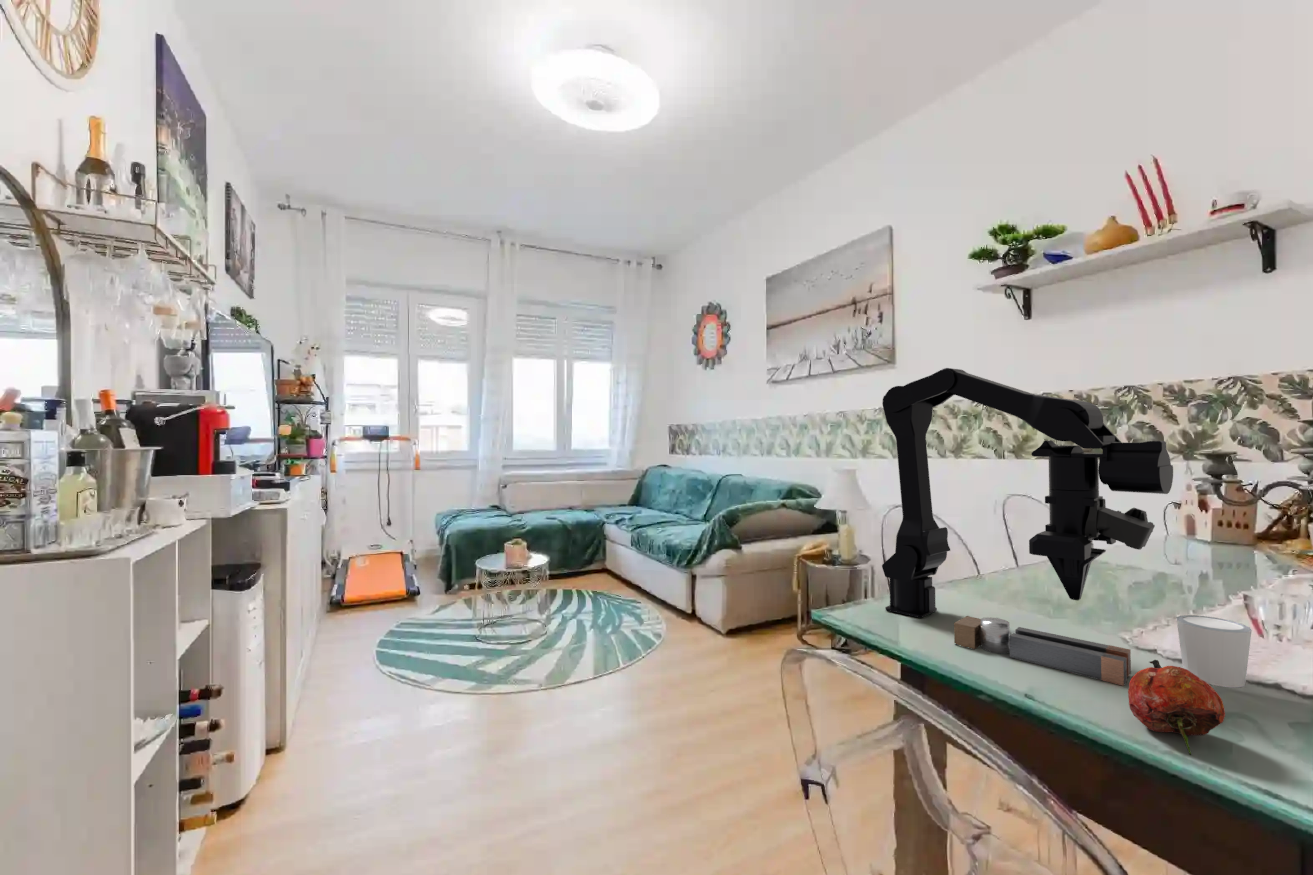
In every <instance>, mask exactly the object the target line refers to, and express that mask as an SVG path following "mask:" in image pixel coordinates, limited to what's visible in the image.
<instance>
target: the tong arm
mask: <svg viewBox="0 0 1313 875" xmlns="http://www.w3.org/2000/svg"><path fill="white" fill-rule="evenodd" d="M1014 632H1015V634H1020V635H1024V636H1029V637H1034V638H1038V639H1043V640H1047V641H1052V642H1056V643H1061V644H1066V645H1070V646H1075V647H1079V648H1084V649H1088V650H1093V651H1097V652H1102V653H1108V654H1112V655H1117V656H1121V657H1126V658H1127V678H1129V677H1130V675H1131V674H1132V661H1131V658H1132V657H1131V654H1132V653H1131V649H1130V648H1124V647H1119V646H1115V645H1111V644H1105V643H1099V642H1094V641H1089V640H1085V639H1080V638H1076V637H1070V636H1066V635H1060V634H1056V633H1055V634H1054V633H1050V632H1046V631H1040V630H1035V629H1031V628H1025V627H1021V626H1018V627H1017V628H1016V629H1015V631H1014Z"/></svg>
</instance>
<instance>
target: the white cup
mask: <svg viewBox="0 0 1313 875" xmlns="http://www.w3.org/2000/svg"><path fill="white" fill-rule="evenodd" d="M1176 624H1177V632H1178V640H1179V641H1178V642H1179V648H1180V649H1179V650H1180V655H1181V656H1180V657H1181V662H1182V663H1181V664H1182V668H1184V669H1187V670H1188V671H1190V672H1191V673H1193V674H1194V675H1196V676H1198V677H1199V678H1200V679H1201V680H1203V681H1205V682H1206V683H1208V684H1209V685H1210V686H1211V685H1213V686H1218V687H1221V688H1222V687H1224V688H1225V687H1226V688H1234V689H1235V688H1242V687H1245V686H1246V681H1247V672H1248V666H1249V655H1250V649H1251V648H1250V646H1251V639H1252V631H1253V630H1252V628H1251V627H1250V626H1247V625H1246V624H1243V623H1240V622H1237V621H1233V620H1228V619H1224V618H1219V617H1214V616H1213V617H1212V616H1207V615H1195V614H1194V615H1192V614H1187V615H1186V614H1183V615H1178V616H1176Z"/></svg>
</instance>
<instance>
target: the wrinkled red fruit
mask: <svg viewBox="0 0 1313 875" xmlns="http://www.w3.org/2000/svg"><path fill="white" fill-rule="evenodd" d="M1149 663H1150V664H1152V665H1153V667H1152V666H1149V667H1146V668H1143V669H1141V670H1139V671H1137V672H1135V674H1134V675H1133V676H1132V677H1131V679H1130V680H1129V683H1128V688H1127V689H1128V690H1127V694H1128V695H1127V696H1128V706H1129V709H1130V712H1132V715H1133V716H1134V717H1135V718H1136V720H1138V721H1139V722H1140V723H1141V724H1142V725H1143V726H1145V727H1146V728H1147V729H1148V730H1150V731H1153V732H1155V733H1156V732H1157V733H1158V732H1159V733H1174V734H1175V733H1176V734H1180V735H1181V737H1182V739H1183V741H1184V743H1185V746H1186V748H1187V751H1188V753H1189V756H1192V752H1191V748H1190V747H1191V746H1190V745H1189V737H1188V736H1205V735H1207V734H1209V732H1210V731H1211V730H1213V729H1215V728H1216V727H1219V725H1221V724H1223V722H1224V720H1225V717H1226V710H1225V705H1224V702H1223V699H1222V698H1221V696H1220V694H1218V692H1217V691H1216V690H1215V689H1214V688H1213V687H1212V686H1211V684H1208V683H1206V682H1205V681H1203V680H1201V679H1200V678H1199V677H1198V676H1196V675H1194V674H1193V673H1191V672H1190V671H1188V670H1187V669H1184V668H1183V667H1181V666H1174V665H1166V666H1163V667H1162V666H1161V664H1160V661H1159V660H1158V659H1154V660H1152V661H1149Z"/></svg>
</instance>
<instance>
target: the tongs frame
mask: <svg viewBox="0 0 1313 875" xmlns="http://www.w3.org/2000/svg"><path fill="white" fill-rule="evenodd" d="M953 626H954V628H953V630H954V631H953V632H954V633H953V635H954V637H953V638H954V643H956V644H958V645H961V646H960V647H962V646H963V648H966V647H969V648H968V649H970V648H972V649H971V650H977V649H979V647H980V648H981V649H982V650H984V651H986V652H989V653H992V654H1004V655H1005V654H1009V658H1010V659H1016V660H1020V661H1023V662H1028V663H1032V664H1035V665H1039V666H1044V667H1047V668H1050V669H1051V668H1052V669H1055V670H1059V671H1064V672H1067V673H1072V674H1075V675H1080V676H1084V677H1088V678H1093V679H1094V680H1095V679H1096V680H1100V681H1103V682H1106V683H1110V684H1114V685H1115V684H1116V685H1119V686H1123V687H1124V686H1125V685H1126V683H1128V681H1127V680H1128V677H1127V658H1126V657H1121V656H1117V655H1112V654H1108V653H1102V652H1097V651H1093V650H1088V649H1084V648H1079V647H1075V646H1070V645H1066V644H1061V643H1056V642H1052V641H1047V640H1043V639H1038V638H1034V637H1029V636H1024V635H1020V634H1016V633H1014V632H1013V633H1011V634H1010V629H1011V628H1010V622H1009V621H1008V620H1006V619H1002V618H999V617H989V616H987V617H982V618H979V617H978V618H977V617H973V616H969V615H967V616H964V617H963V618H960V619H958V620H957V621H955V622H953ZM954 643H953V644H954ZM958 645H957V646H958Z"/></svg>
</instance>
